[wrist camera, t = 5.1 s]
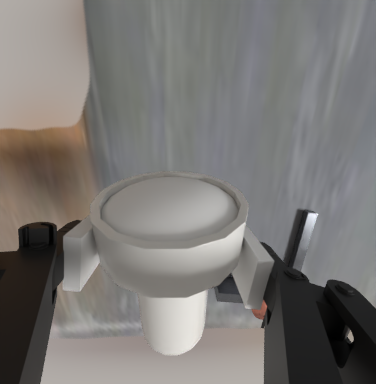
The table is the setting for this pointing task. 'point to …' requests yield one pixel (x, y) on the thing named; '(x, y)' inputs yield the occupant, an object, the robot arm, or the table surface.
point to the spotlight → (169, 248)
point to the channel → (229, 288)
